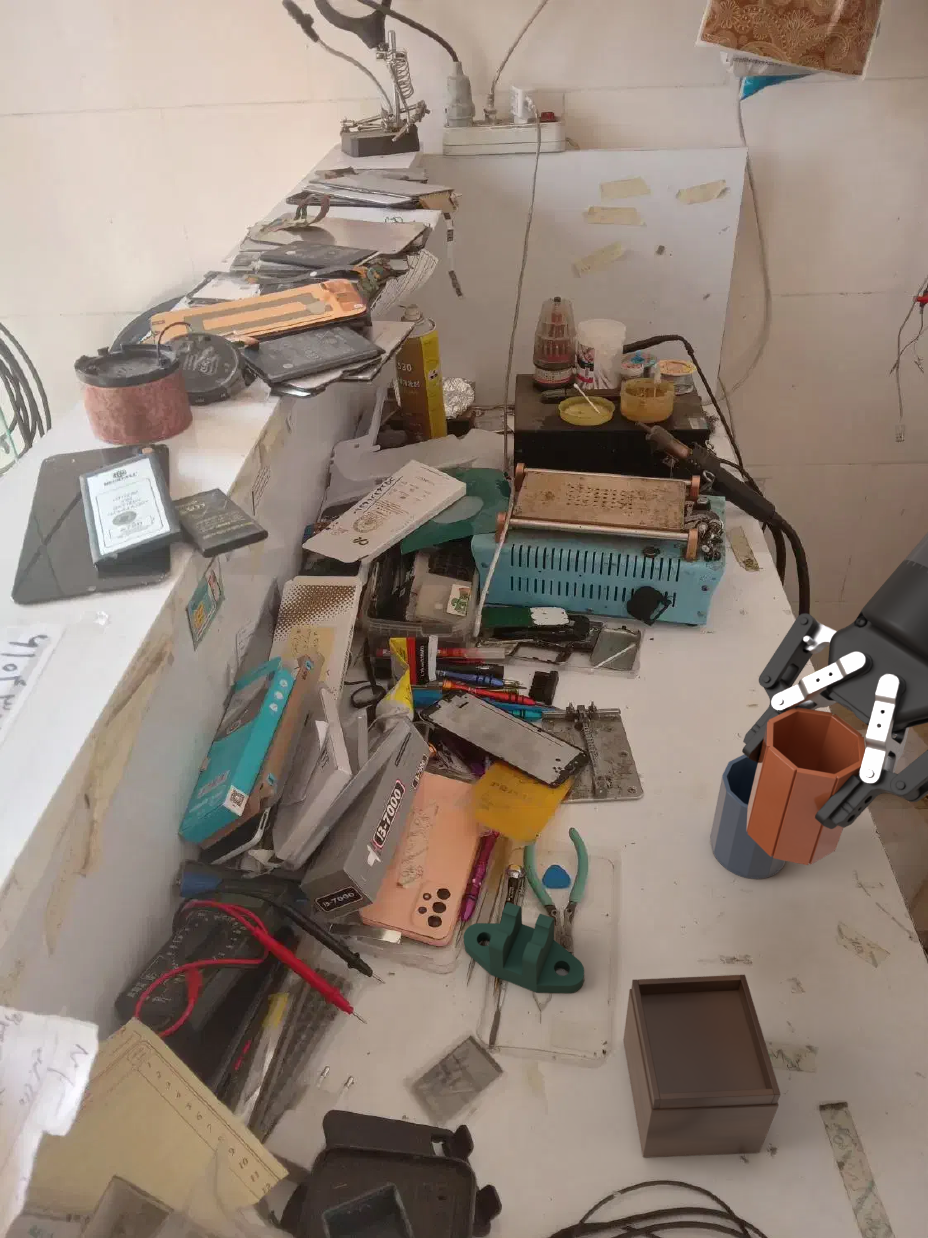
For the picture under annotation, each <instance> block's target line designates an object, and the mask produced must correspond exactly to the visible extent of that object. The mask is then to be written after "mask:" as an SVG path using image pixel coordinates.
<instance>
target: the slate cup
mask: <svg viewBox="0 0 928 1238" xmlns="http://www.w3.org/2000/svg"><path fill="white" fill-rule="evenodd" d="M757 765H758V763H757V762H755V761H753V760H751V759H749V758H748V757H747V756H746V755H745V754H744V753H743V754H741V755H740V756H738V757H736V758H733V759H732V760H730V761H728V763H727V765H726V766H725V768H724V770H723V773H722V775H721V780H720V785H719V789H718V790H719V791H718V796H717V801H716V806H715V811H714V816H713V820H712V826H711V832H710V837H709V838H710V847H711V851H712V854H713V855H714V857H715V859H716V861H717V862H718V863H719V864H720V865H721V866H722V867H724V869H726V870H727V871H729V872H731V873H732V874H734V875H736V876H739V877H742V878H745V879H752V880H762V879H767V878H770V877H773V876H775V875H777V874H778V873H780V872H781V870H782V869H783V868H784V867H785V864H786V862H787V861H784V860H780V859H775V858H773V856H771V857H770V856H769V855H768V854H767V853H766V852H765V851H764V850H763V849H762V848H761V847H760V846H759V845H758V844H757V843H756V842H755V841H754V840H753V839H752V838H751V837H750V836H749V835H748V832H747V831H746V830H747V810H748V804H749V799H750V795H751V791H752V786H753V782H754V778H755V773H756V769H757Z"/></svg>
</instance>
